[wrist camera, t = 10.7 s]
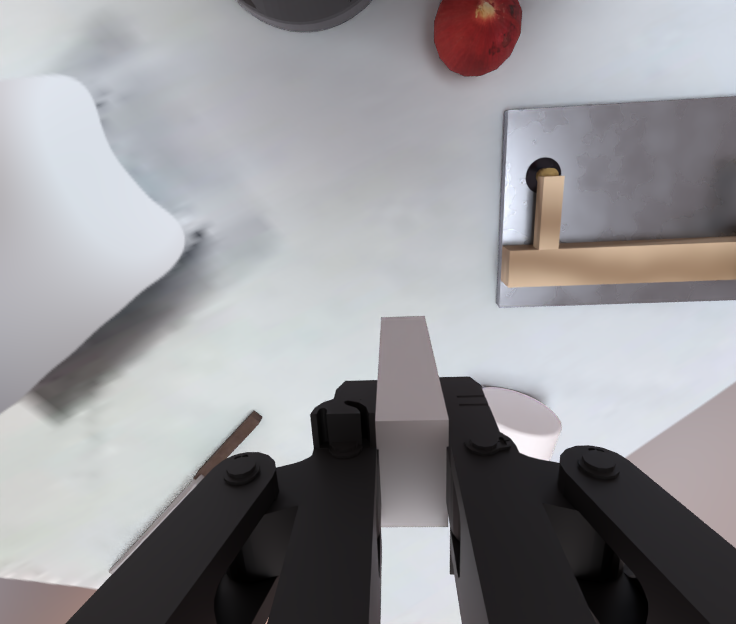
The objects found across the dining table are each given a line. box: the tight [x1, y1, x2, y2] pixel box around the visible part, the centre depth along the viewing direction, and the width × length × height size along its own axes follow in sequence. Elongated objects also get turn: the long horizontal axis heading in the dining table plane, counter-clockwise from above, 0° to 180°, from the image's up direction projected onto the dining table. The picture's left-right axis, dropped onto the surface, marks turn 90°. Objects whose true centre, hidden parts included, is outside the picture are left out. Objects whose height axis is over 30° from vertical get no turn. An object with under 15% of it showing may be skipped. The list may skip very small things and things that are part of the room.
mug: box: [482, 387, 562, 461], centre depth 40 cm, size 12×10×8 cm
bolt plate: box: [496, 96, 736, 308], centre depth 36 cm, size 16×24×1 cm, turn 93°
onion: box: [434, 0, 522, 76], centre depth 30 cm, size 6×6×8 cm
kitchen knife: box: [109, 411, 262, 574], centre depth 47 cm, size 4×1×30 cm
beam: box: [501, 168, 736, 288], centre depth 35 cm, size 9×24×2 cm, turn 93°
